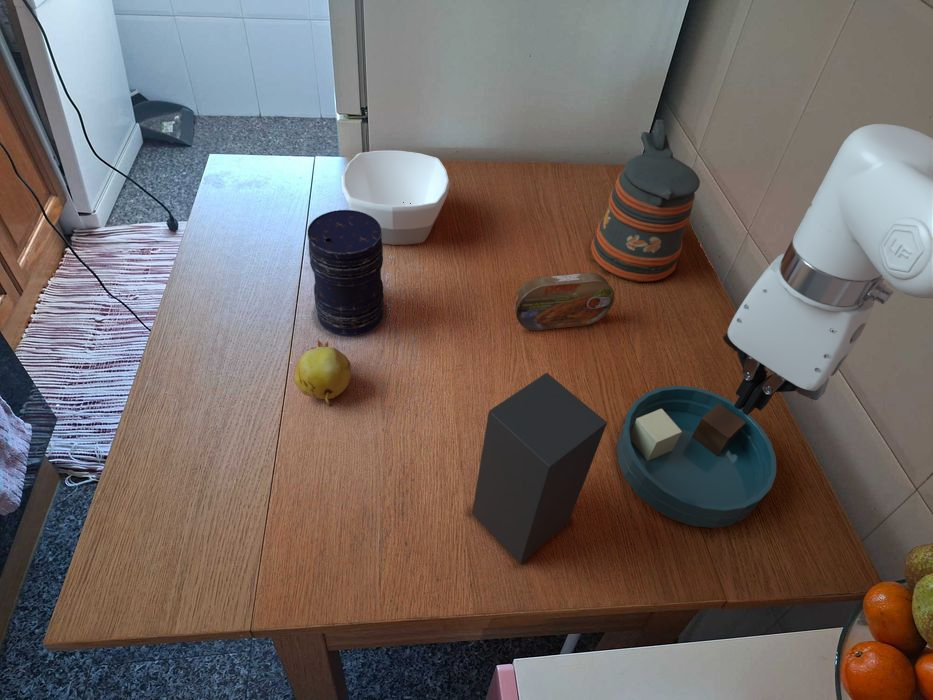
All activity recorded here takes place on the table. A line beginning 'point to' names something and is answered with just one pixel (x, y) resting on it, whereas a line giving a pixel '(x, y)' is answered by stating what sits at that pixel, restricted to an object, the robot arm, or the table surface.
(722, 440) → the walnut block
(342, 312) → the storage jar
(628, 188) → the beer stein
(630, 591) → the table surface
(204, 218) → the table surface
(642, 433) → the cream block
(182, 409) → the table surface
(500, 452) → the stand
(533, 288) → the tin
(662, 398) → the bowl
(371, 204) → the bowl
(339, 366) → the fruit
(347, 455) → the table surface
